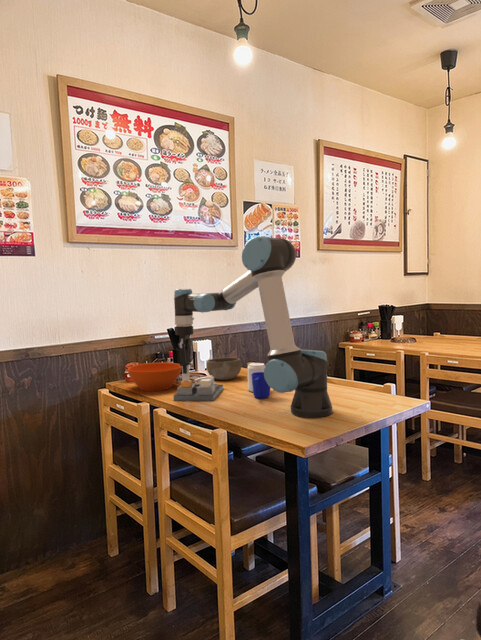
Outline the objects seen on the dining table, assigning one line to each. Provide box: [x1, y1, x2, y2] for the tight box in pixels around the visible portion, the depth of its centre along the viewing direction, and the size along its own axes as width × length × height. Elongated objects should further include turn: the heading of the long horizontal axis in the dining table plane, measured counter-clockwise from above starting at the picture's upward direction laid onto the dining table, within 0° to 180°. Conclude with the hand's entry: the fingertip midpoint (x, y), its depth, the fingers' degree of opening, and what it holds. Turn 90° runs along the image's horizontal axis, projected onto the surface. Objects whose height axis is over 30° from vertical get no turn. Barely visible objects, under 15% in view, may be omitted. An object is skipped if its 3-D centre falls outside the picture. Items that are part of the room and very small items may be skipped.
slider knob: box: [205, 376, 215, 385], centre depth 202 cm, size 4×3×5 cm
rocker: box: [193, 375, 212, 383], centre depth 209 cm, size 3×8×1 cm, turn 81°
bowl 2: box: [206, 356, 242, 381], centre depth 235 cm, size 17×18×10 cm
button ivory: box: [199, 379, 211, 388], centre depth 194 cm, size 4×4×4 cm
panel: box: [172, 383, 224, 402], centre depth 201 cm, size 22×17×5 cm
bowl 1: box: [127, 362, 182, 392], centre depth 218 cm, size 25×25×10 cm
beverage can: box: [247, 362, 266, 393], centre depth 205 cm, size 8×8×12 cm
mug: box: [252, 372, 271, 400], centre depth 191 cm, size 8×12×10 cm
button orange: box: [180, 379, 193, 388], centre depth 195 cm, size 4×4×4 cm
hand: (185, 380), depth 195 cm, fingers closed
